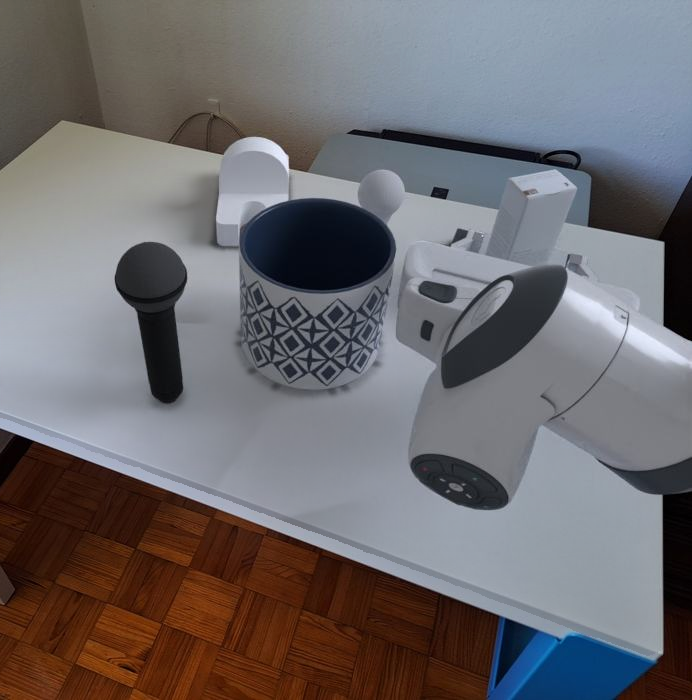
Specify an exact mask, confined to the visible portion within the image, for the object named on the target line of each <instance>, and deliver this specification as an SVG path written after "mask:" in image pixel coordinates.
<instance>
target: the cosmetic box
mask: <svg viewBox="0 0 692 700" xmlns="http://www.w3.org/2000/svg"><path fill="white" fill-rule="evenodd" d="M577 192H578V186H576V185H575V184H574V183H573V182H571V180H569V179H568V178H567V177H566V176H564V175H563V174H562V173H561V172H560V171H559V170H557V169H549V170H545V171H540V172H539V171H538V172H534V173H529V174H523V175H518V176H513V177H509V178H507V181H506V184H505V187H504V191H503V193H502V197H501V201H500V204H499V208H498V210H497V214H496V217H495V220H494V224H493V227H492V230H491V233H490V234H491V237H490V240H489V243H488V247H487V250H486V253H485V255H486V256H490V257H495V258H499V259H503V260H507V261H511V262H516V263H520V264H524V265H528V266H532V267H535V266H541V265H548V263H549V260H550V258H551V255H552V253H553V250H554V248H555V249H556V245H557V242H558V239H559V237H560V235H561V232H562V230H563V227H564V224H565V222H566V219H567V217H568V214H569V212H570V209H571V206H572V204H573V201H574V199H575V196H576V194H577Z"/></svg>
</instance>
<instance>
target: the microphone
mask: <svg viewBox="0 0 692 700" xmlns="http://www.w3.org/2000/svg"><path fill="white" fill-rule="evenodd" d="M187 282H188V270H187V267H186V265H185V264H184V262H183V260H182V258H181V257H180V256H179V254H178V253H177V252H176V250H174V249H173V248H171V247H170V246H168V245H166V244H164V243H162V242H158V241H157V242H156V241H143V242H140V243H136V244H135V245H133V246H131V247H129V248H128V249H127V250H126V251H125V252H124V253H123V254H122V255H121V257H120V259H119V261H118V263H117V265H116V270H115V274H114V285H115V289H116V291H117V292H118V294H119V295H120V296H121V298H122V299H123V301H124V302H125V303H126V304H128V305H129V306H130V307H131V308H133V309H134V310H135V312H136V316H137V321H138V329H139V333H140V338H141V345H142V350H143V357H144V362H145V363H144V364H145V368H146V369H145V370H146V374H147V380H148V385H149V390H150V392H151V395H152V397H154V399H156V400H157V401H158V402H160V403H162V404H165V405H170V404H173V403H175V402H176V401H177V400H178V399H179V398H180V396H181V395H182V393H183V391H184V382H183V379H184V377H183V369H182V360H181V352H180V342H179V336H178V335H179V334H178V325H177V318H176V308H175V307H176V304H177V302H178V301H179V300H180V298H181V297H182V296H183V294H184V291H185V288H186V286H187Z"/></svg>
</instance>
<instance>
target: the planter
mask: <svg viewBox="0 0 692 700" xmlns="http://www.w3.org/2000/svg"><path fill="white" fill-rule="evenodd" d="M240 233H241V234H240V236H239V246H238V260H239V261H238V269H239V271H238V273H239V277H238V278H239V313H240V317H239V318H240V320H239V321H240V340H241V348H242V351H243V353H244V355H245V357H246V358H247V360H248V362H249V363H250V365H251V366H252V367H253V368H254V369H255V370H256V371H258V373H260V374H261V375H262V376H264V377H266V378H268V379H269V380H271V381H272V382H275V383H277V384H280V385H283V386H286V387H289V388H293V389H297V390H298V389H300V390H307V391H309V390H310V391H316V390H317V391H318V390H328V389H334V388H338V387H341V386H344V385H347V384H349V383H351V382H353V381H355V380H357V379H358V378H359V377H361V376H362V375H364V374H365V373H366V372H367V371H368V370H369V369H370V368H371V366H372V365H373V364H374V362H375V360H376V358H377V355H378V353H379V350H380V345H381V339H382V334H383V328H384V324H385V318H386V312H387V307H388V301H389V297H390V291H391V286H392V280H393V275H394V269H395V263H396V257H397V251H398V250H397V242H396V241H397V240H396V238H395V236H394V233H393V232H392V230H391V229H390V227H389V226H388V224H387V225H386V224H385V223H384V222H383V221H382V220H381V219H380V218H378V217H377V216H376V215H375V214H373V213H371V212H369V211H368V210H366V209H364V208H362V207H361V206H359V205H357V204H354V203H351V202H347V201H343V200H338V199H333V198H325V197H305V198H303V197H302V198H296V199H289V201H285V202H281V203H278V204H275V205H273V206H270V207H268V208H266V209H264V210H262V211H261V212H259V213H258V214H256V215H255V216H254V217H253V218H252V219H251V220H250V221H249V222H248V223H247V224H245V225H244V226H243V229H242V231H241V232H240Z"/></svg>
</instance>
